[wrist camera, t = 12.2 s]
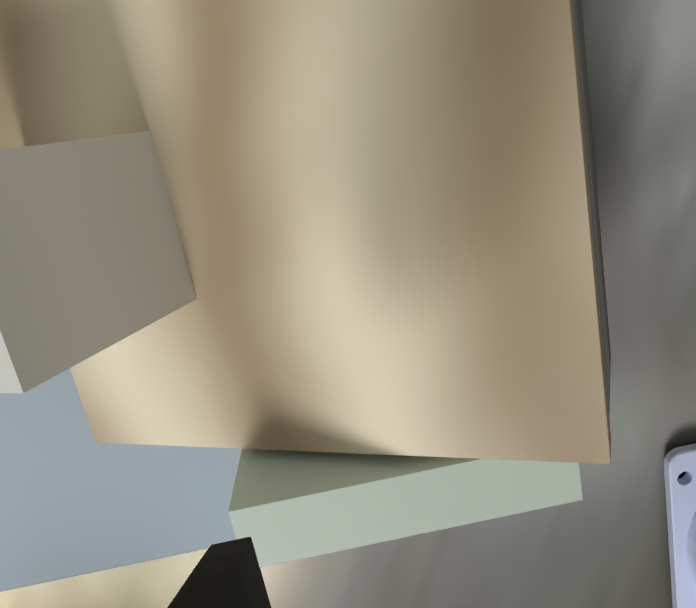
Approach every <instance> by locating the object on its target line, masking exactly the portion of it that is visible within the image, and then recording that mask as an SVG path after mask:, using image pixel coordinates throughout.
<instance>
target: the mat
mask: <svg viewBox="0 0 696 608" xmlns="http://www.w3.org/2000/svg"><path fill="white" fill-rule="evenodd" d="M241 451H242V449H238V448H214V447H190V446H167V445H143V444H119V443H96V442H95V439H94V436H93V433H92V430H91V427H90V425H89V422H88V419H87V416H86V413H85V410H84V407H83V404H82V402H81V399H80V396H79V393H78V390H77V387H76V384H75V382H74V379H73V376H72V373H71V370H70V368H69V369H67V370H65V371H64V372H62V373H60V374H58V375H56V376H54V377H53V378H51V379H49V380H47V381H45V382H43V383H41V384H40V385H38V386H36V387H34V388H32V389H30V390H29V391H27V392H25V393H0V592H1V591H6V590H11V589H16V588H21V587H25V586H30V585H35V584H40V583H44V582H49V581H54V580H59V579H63V578H68V577H73V576H78V575H83V574H87V573H92V572H97V571H102V570H106V569H111V568H116V567H121V566H126V565H130V564H135V563H140V562H145V561H149V560H154V559H159V558H164V557H169V556H173V555H178V554H183V553H188V552H192V551H197V550H202V549H207V548H209V547H210V546H211V545H212V544H217V543H222V542H227V541H231V540H236V537H235V533H234V530H233V527H232V523H231V520H230V516H229V513H228V511H229V506H230V501H231V497H232V492H233V487H234V483H235V478H236V474H237V469H238V464H239V460H240V455H241Z"/></svg>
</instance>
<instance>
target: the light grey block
mask: <svg viewBox="0 0 696 608" xmlns="http://www.w3.org/2000/svg"><path fill="white" fill-rule="evenodd" d="M194 300H196V295H195V291H194V288H193V284H192V281H191V277H190V273H189V270H188V266H187V262H186V259H185V255H184V251H183V248H182V244H181V241H180V237H179V233H178V230H177V226H176V222H175V219H174V215H173V211H172V208H171V204H170V200H169V197H168V193H167V190H166V186H165V182H164V179H163V175H162V171H161V168H160V164H159V160H158V157H157V153H156V150H155V146H154V142H153V139H152V135H151V131H143V132H136V133H128V134H120V135H112V136H104V137H97V138H89V139H81V140H73V141H66V142H58V143H50V144H42V145H34V146H27V147H19V148H11V149H3V150H0V393H25V392H27V391H29V390H30V389H32V388H34V387H36V386H38V385H40V384H41V383H43V382H45V381H47V380H49V379H51V378H53V377H54V376H56V375H58V374H60V373H62V372H64V371H65V370H67V369H69V368H71V367H73V366H75V365H76V364H78V363H80V362H82V361H84V360H86V359H88V358H89V357H91V356H93V355H95V354H97V353H99V352H100V351H102V350H104V349H106V348H108V347H110V346H111V345H113V344H115V343H117V342H119V341H121V340H123V339H124V338H126V337H128V336H130V335H132V334H134V333H135V332H137V331H139V330H141V329H143V328H145V327H146V326H148V325H150V324H152V323H154V322H156V321H158V320H159V319H161V318H163V317H165V316H167V315H169V314H170V313H172V312H174V311H176V310H178V309H180V308H181V307H183V306H185V305H187V304H189V303H191V302H193V301H194Z"/></svg>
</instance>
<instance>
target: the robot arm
mask: <svg viewBox="0 0 696 608" xmlns="http://www.w3.org/2000/svg"><path fill="white" fill-rule="evenodd" d="M682 472H685V475H684V476H683V477H682V478H680V479H677V478H678V476H679V475H680V474H681V473H682ZM664 474H665V490H666V506H667V522H668V539H669V555H670V571H671V587H672V603H673V608H696V443H695V444H690V445H686V446H681V447H677V448H674V449H672V450H671V451H669V452H668V453H667V455H666V457H665V459H664ZM168 608H271V606H270V602H269V598H268V595H267V591H266V588H265V584H264V581H263V577H262V574H261V570H260V567H259V563H258V560H257V556H256V553H255V549H254V546H253V542H252V539H251V537H246V538H241V539H236V540H231V541H227V542H222V543H217V544H212V545H211V546H210V547H209V549H208V550H207V551H206V553H205V554H204V556H203V557H202V558H201V560H200V561H199V563H198V564H197V566H196V567H195V568H194V570H193V571H192V573H191V574H190V576H189V577H188V579H187V580H186V582H185V583H184V584H183V586H182V587H181V589H180V590H179V592H178V593H177V595H176V596H175V598H174V599H173V601H172V602H171V603H170V605H169V606H168Z"/></svg>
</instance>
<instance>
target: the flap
mask: <svg viewBox="0 0 696 608" xmlns="http://www.w3.org/2000/svg"><path fill="white" fill-rule="evenodd" d="M143 131H151V135H152V139H153V142H154V146H155V150H156V153H157V157H158V160H159V164H160V168H161V171H162V175H163V179H164V182H165V186H166V190H167V193H168V197H169V200H170V204H171V208H172V211H173V215H174V219H175V222H176V226H177V230H178V233H179V237H180V241H181V244H182V248H183V251H184V255H185V259H186V262H187V266H188V270H189V273H190V277H191V281H192V284H193V288H194V291H195V295H196V300H194V301H193V302H191V303H189V304H187V305H185V306H183V307H181V308H180V309H178V310H176V311H174V312H172V313H170V314H169V315H167V316H165V317H163V318H161V319H159V320H158V321H156V322H154V323H152V324H150V325H148V326H146V327H145V328H143V329H141V330H139V331H137V332H135V333H134V334H132V335H130V336H128V337H126V338H124V339H123V340H121V341H119V342H117V343H115V344H113V345H111V346H110V347H108V348H106V349H104V350H102V351H100V352H99V353H97V354H95V355H93V356H91V357H89V358H88V359H86V360H84V361H82V362H80V363H78V364H76V365H75V366H73V367H71V368H70V370H71V373H72V376H73V379H74V382H75V384H76V387H77V390H78V393H79V396H80V399H81V402H82V404H83V407H84V410H85V413H86V416H87V419H88V422H89V425H90V427H91V430H92V433H93V436H94V439H95V442H96V443H119V444H143V445H167V446H190V447H214V448H238V449H262V450H286V451H309V452H333V453H357V454H381V455H404V456H428V457H452V458H476V459H499V460H523V461H547V462H571V463H595V464H611V432H610V421H609V404H610V363H611V352H610V340H609V328H608V317H607V305H606V293H605V281H604V269H603V257H602V246H601V234H600V222H599V210H598V198H597V186H596V175H595V163H594V151H593V139H592V127H591V115H590V104H589V92H588V80H587V68H586V56H585V44H584V33H583V21H582V9H581V0H0V150H3V149H11V148H19V147H27V146H34V145H42V144H50V143H58V142H66V141H73V140H81V139H89V138H97V137H104V136H112V135H120V134H128V133H136V132H143Z"/></svg>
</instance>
